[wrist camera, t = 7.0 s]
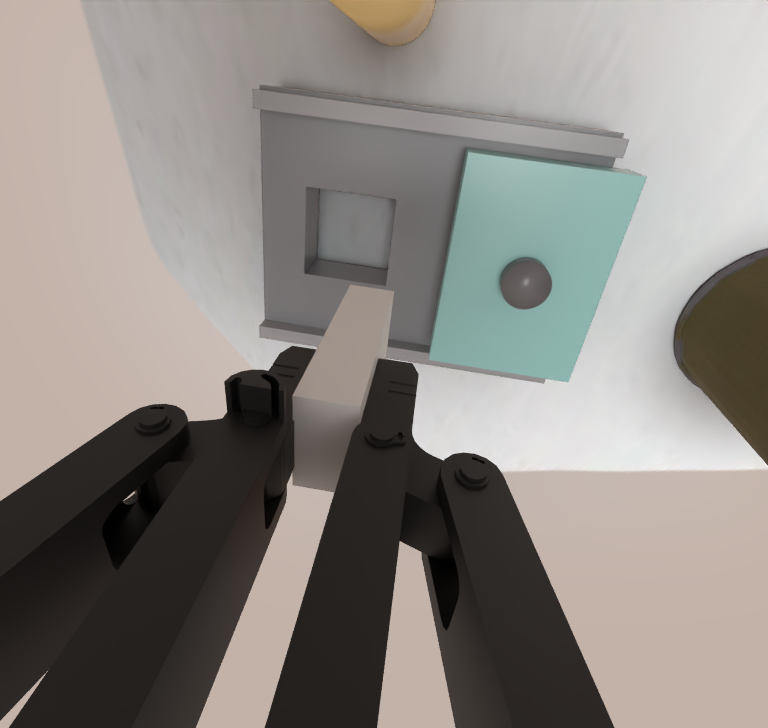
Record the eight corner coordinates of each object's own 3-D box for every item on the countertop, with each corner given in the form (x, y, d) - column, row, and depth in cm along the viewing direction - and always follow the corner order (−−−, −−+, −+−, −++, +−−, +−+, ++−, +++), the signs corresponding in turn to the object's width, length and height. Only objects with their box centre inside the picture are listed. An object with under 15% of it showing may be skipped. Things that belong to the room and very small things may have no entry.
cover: (466, 147, 23) (469, 154, 20) (628, 169, 22) (655, 180, 19) (430, 341, 28) (428, 368, 25) (559, 361, 28) (572, 392, 25)
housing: (279, 86, 25) (252, 84, 22) (605, 130, 25) (631, 134, 21) (279, 314, 33) (259, 340, 29) (532, 355, 32) (543, 386, 28)
